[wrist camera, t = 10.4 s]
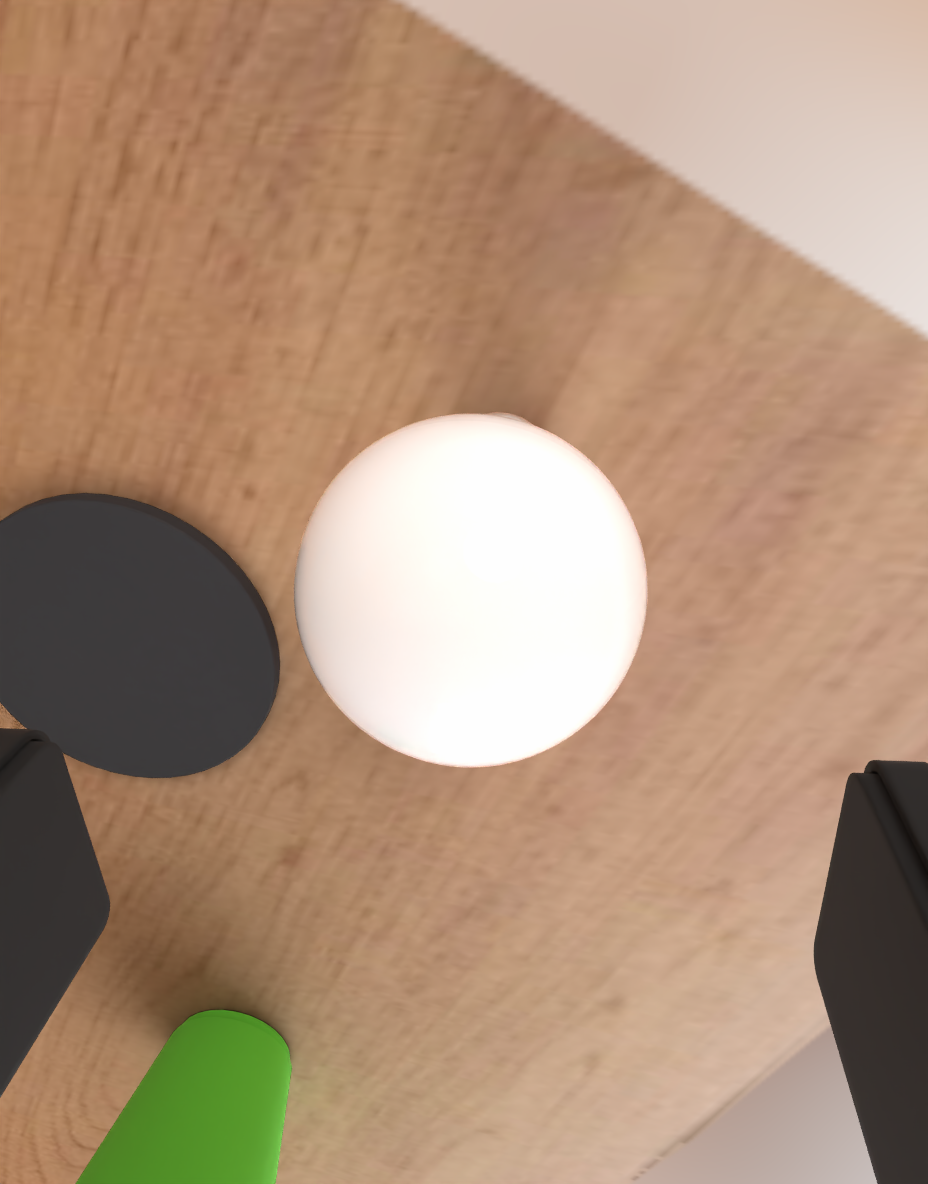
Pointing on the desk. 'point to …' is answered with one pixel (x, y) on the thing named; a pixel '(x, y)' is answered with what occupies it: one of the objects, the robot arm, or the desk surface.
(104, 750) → the coaster
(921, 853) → the robot arm
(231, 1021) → the cup
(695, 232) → the desk surface
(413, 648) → the lightbulb
